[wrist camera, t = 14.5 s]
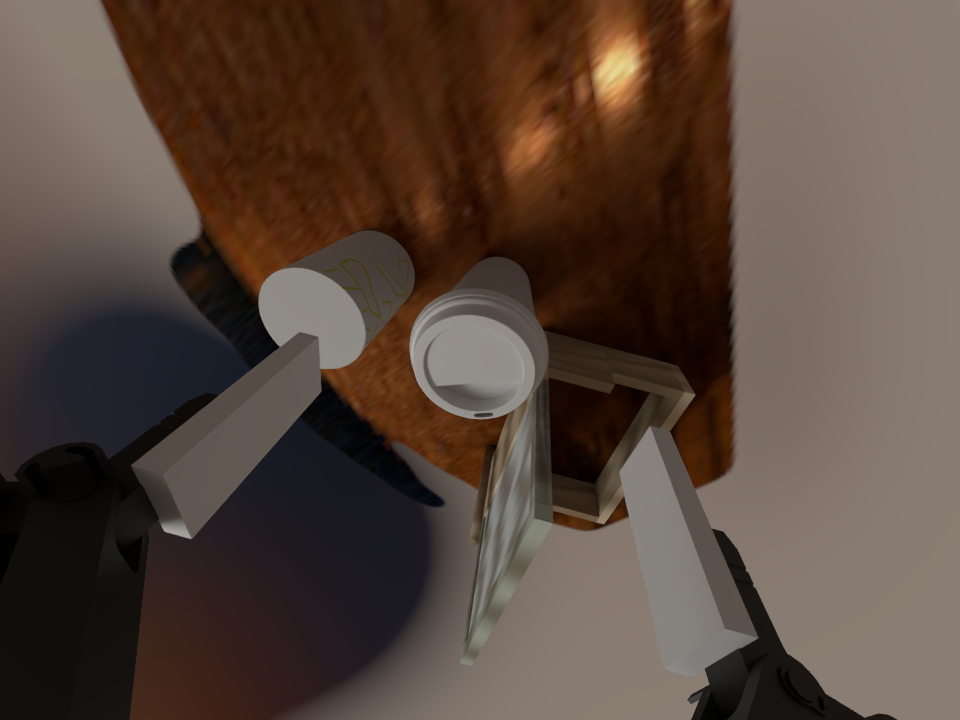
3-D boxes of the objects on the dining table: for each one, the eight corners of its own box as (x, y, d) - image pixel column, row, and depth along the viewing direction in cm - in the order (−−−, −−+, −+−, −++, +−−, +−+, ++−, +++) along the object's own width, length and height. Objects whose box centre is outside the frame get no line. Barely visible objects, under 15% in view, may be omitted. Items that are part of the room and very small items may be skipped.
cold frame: (525, 325, 37) (509, 511, 18) (677, 365, 37) (818, 594, 18) (482, 459, 48) (445, 658, 29) (598, 490, 48) (634, 710, 29)
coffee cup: (444, 320, 38) (396, 409, 25) (457, 229, 33) (405, 284, 20) (531, 341, 38) (526, 441, 25) (558, 252, 32) (570, 323, 20)
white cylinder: (419, 310, 38) (374, 371, 28) (347, 307, 39) (279, 366, 29) (409, 230, 33) (352, 268, 23) (329, 230, 35) (241, 266, 24)
